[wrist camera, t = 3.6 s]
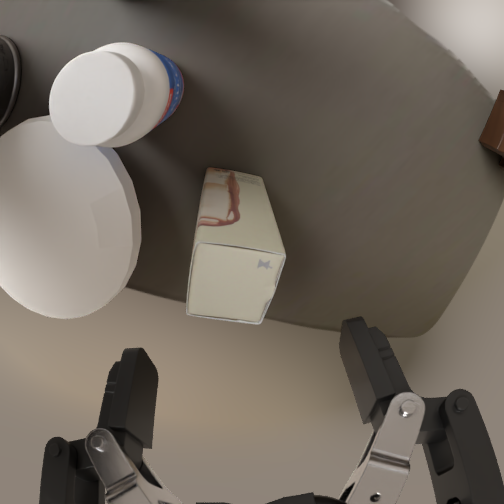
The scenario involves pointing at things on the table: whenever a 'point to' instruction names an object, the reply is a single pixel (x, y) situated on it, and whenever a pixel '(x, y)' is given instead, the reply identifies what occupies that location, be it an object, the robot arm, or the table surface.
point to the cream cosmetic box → (234, 250)
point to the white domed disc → (64, 222)
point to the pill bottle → (114, 95)
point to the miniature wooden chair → (495, 129)
